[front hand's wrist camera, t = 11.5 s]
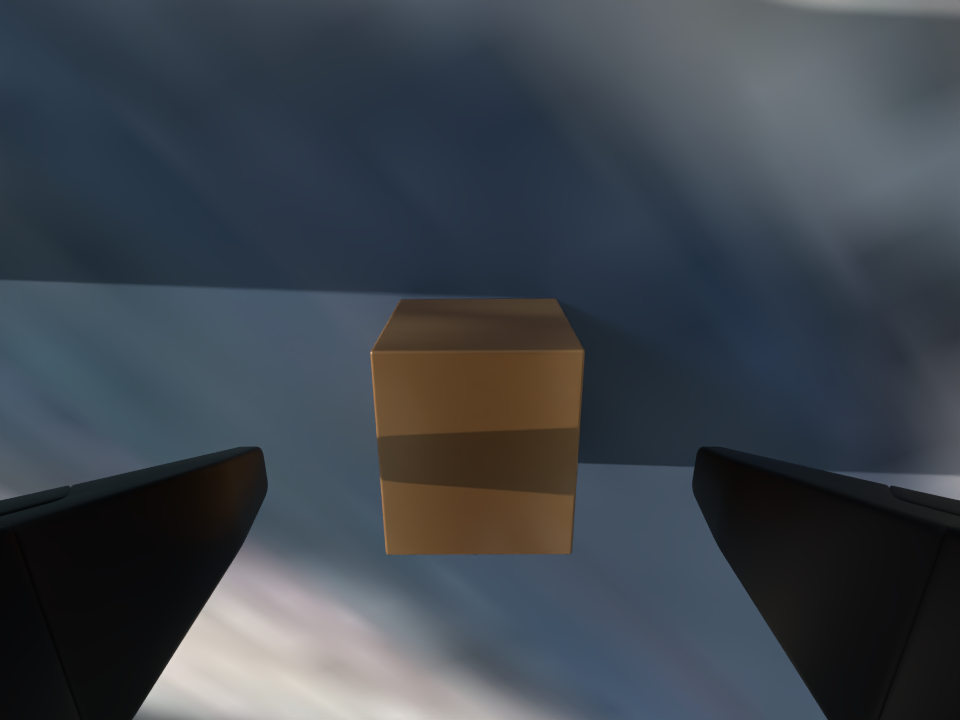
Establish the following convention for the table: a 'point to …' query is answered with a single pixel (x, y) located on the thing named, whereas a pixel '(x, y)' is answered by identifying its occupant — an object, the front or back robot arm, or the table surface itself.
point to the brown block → (478, 426)
